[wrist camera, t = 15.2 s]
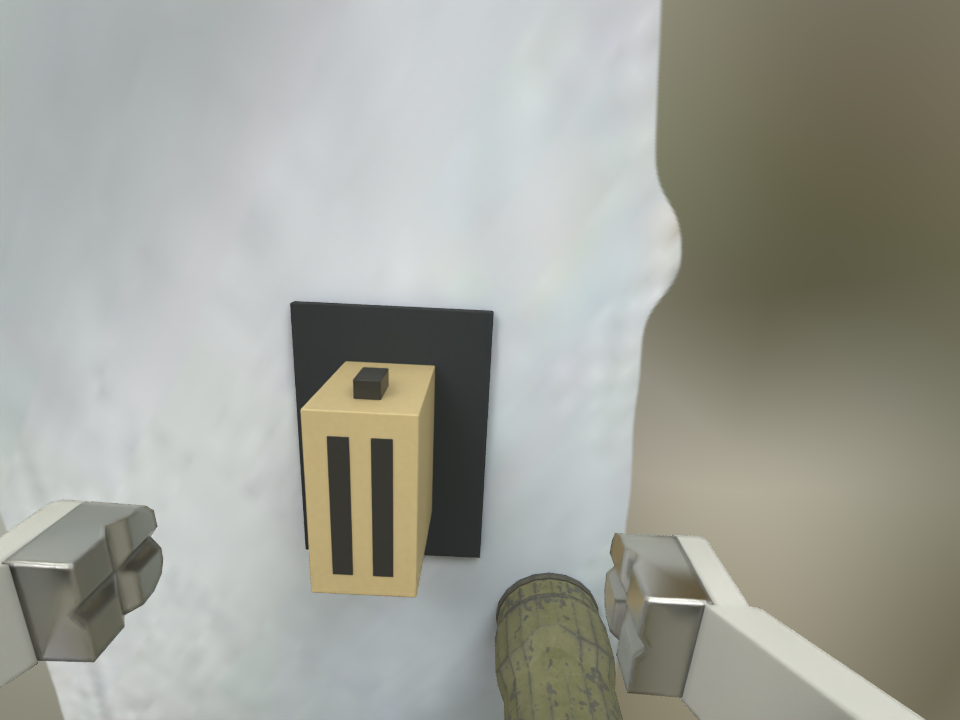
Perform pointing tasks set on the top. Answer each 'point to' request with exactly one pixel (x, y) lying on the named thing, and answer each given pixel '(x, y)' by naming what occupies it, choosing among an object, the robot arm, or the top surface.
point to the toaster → (369, 478)
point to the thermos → (553, 652)
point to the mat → (457, 402)
